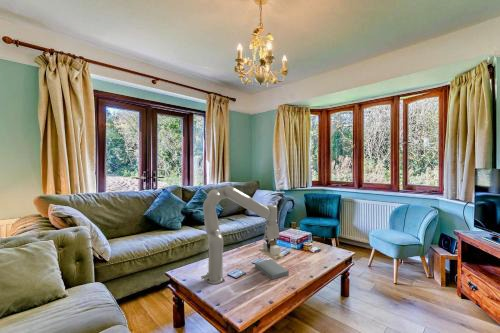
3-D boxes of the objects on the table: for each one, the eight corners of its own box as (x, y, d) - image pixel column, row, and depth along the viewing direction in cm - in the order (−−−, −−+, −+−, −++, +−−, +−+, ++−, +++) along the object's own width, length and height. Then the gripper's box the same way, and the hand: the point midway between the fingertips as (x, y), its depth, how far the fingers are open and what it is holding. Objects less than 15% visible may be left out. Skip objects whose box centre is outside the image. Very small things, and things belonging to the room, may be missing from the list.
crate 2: (274, 255, 159) (274, 248, 159) (270, 253, 163) (270, 246, 163) (280, 254, 161) (280, 247, 161) (275, 251, 165) (275, 244, 165)
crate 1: (267, 251, 167) (267, 244, 166) (263, 248, 171) (263, 242, 171) (272, 249, 169) (272, 243, 169) (268, 247, 173) (268, 241, 173)
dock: (272, 281, 153) (272, 275, 153) (255, 268, 172) (255, 262, 172) (288, 276, 160) (288, 270, 160) (270, 264, 179) (270, 259, 179)
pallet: (275, 260, 155) (275, 246, 155) (259, 250, 173) (259, 238, 173) (284, 258, 159) (284, 244, 159) (268, 248, 177) (268, 236, 177)
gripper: (264, 225, 158) (264, 251, 158) (284, 222, 166) (284, 247, 167) (259, 222, 165) (258, 247, 165) (278, 219, 173) (277, 243, 173)
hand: (271, 247), depth 166 cm, fingers closed on pallet, 4 cm apart
